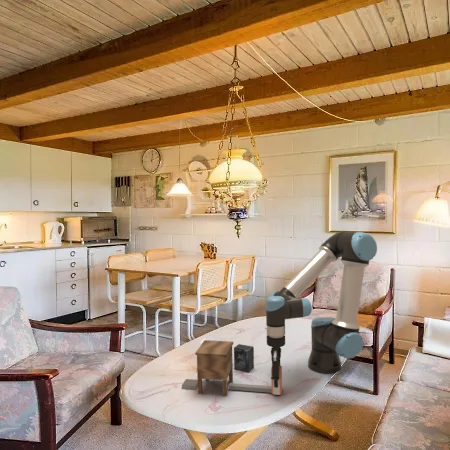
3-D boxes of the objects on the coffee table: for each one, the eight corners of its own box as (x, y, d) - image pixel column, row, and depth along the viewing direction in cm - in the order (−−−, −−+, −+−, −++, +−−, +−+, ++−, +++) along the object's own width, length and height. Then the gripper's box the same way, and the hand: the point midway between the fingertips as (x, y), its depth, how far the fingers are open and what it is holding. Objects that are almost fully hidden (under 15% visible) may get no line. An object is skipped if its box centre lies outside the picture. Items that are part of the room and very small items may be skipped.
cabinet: (234, 380, 172) (233, 341, 171) (227, 396, 157) (226, 354, 156) (205, 378, 174) (204, 340, 173) (196, 394, 160) (195, 352, 159)
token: (199, 384, 169) (199, 379, 169) (195, 390, 164) (195, 386, 163) (186, 383, 171) (186, 378, 170) (181, 389, 165) (181, 385, 165)
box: (233, 369, 183) (233, 347, 182) (239, 365, 188) (239, 343, 187) (249, 372, 179) (248, 350, 178) (254, 368, 184) (253, 346, 183)
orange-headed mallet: (282, 389, 161) (281, 365, 161) (281, 394, 157) (281, 370, 156) (230, 385, 166) (229, 362, 165) (227, 390, 161) (227, 367, 161)
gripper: (268, 327, 168) (269, 380, 169) (264, 342, 150) (265, 401, 152) (286, 328, 166) (287, 382, 167) (283, 343, 149) (285, 402, 150)
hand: (276, 390), depth 159 cm, fingers closed on orange-headed mallet, 4 cm apart
